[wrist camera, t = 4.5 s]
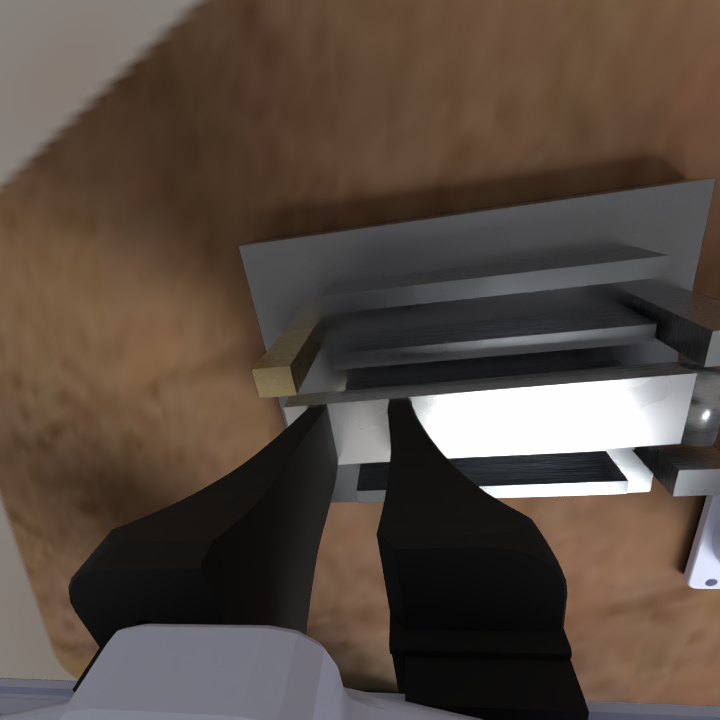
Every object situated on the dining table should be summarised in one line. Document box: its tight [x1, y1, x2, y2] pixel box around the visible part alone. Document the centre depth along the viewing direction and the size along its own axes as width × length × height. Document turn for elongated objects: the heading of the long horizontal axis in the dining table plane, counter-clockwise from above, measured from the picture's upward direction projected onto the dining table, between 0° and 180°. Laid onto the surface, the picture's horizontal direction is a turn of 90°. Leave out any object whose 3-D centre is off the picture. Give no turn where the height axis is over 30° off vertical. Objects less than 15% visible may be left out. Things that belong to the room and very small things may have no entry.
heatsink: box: [239, 178, 720, 503], centre depth 14 cm, size 15×12×5 cm
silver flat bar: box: [284, 358, 720, 465], centre depth 12 cm, size 13×2×1 cm, turn 98°
